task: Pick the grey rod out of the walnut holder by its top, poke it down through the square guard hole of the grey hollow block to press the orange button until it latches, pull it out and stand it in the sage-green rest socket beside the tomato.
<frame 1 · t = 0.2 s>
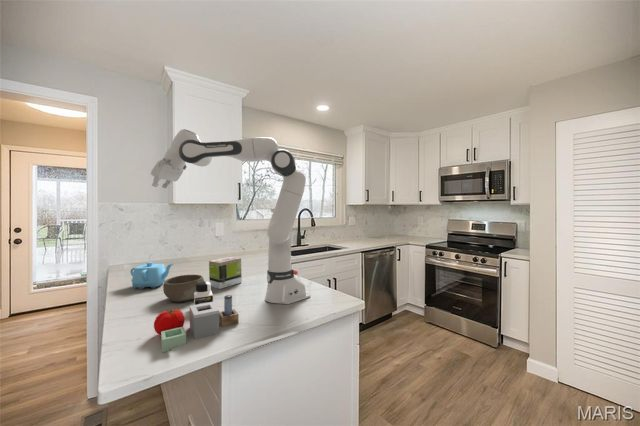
hand: (159, 187, 126), 54 cm above the counter, tool tilted 30°, fingers open, 8 cm apart
rest socket: (173, 345, 88), on the counter
tea box: (225, 285, 155), on the counter
grey hollow block: (204, 332, 96), on the counter
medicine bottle: (203, 310, 118), on the counter
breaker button: (204, 317, 96), point 6 cm above the counter, slide at 0.0 cm
grey rod: (228, 322, 103), point 1 cm above the counter, touching stylus holder
bowl: (184, 299, 131), on the counter
teapot: (153, 286, 151), on the counter
tomato: (170, 334, 96), on the counter
stylus holder: (228, 324, 103), on the counter
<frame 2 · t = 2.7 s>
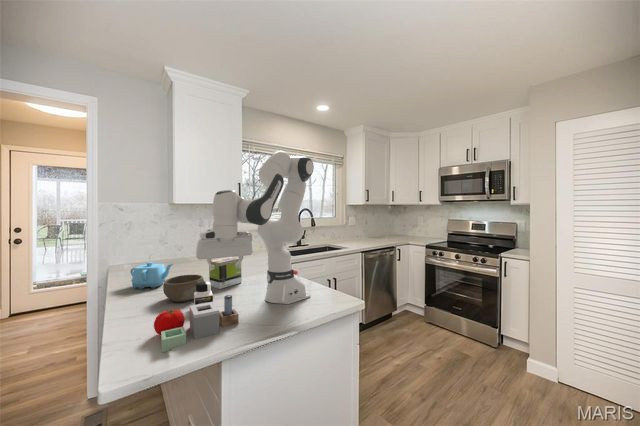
hand: (225, 268, 102), 22 cm above the counter, tool pointing down, fingers open, 8 cm apart
nothing on the counter moved.
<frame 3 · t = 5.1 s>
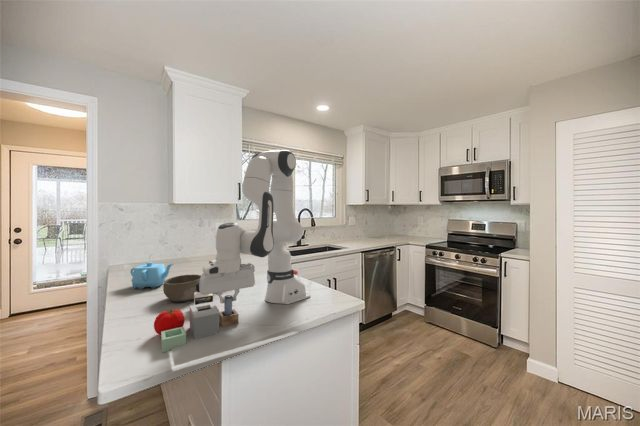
hand: (228, 301, 103), 9 cm above the counter, tool pointing down, fingers closed on grey rod, 3 cm apart
grey rod: (228, 322, 103), point 1 cm above the counter, touching gripper, stylus holder
everything else where it was.
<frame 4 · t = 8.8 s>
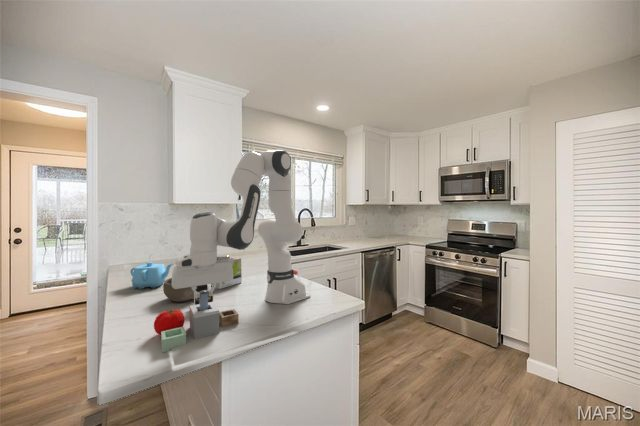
hand: (203, 296, 96), 13 cm above the counter, tool pointing down, fingers closed on grey rod, 3 cm apart
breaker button: (204, 322, 96), point 4 cm above the counter, slide at 1.9 cm, touching grey rod
grey rod: (203, 319, 96), point 5 cm above the counter, touching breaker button, gripper
everything else where it was.
when the fingers open (9 cm above the counter, at t = 12.8 s): grey rod stays where it is, resting on rest socket.
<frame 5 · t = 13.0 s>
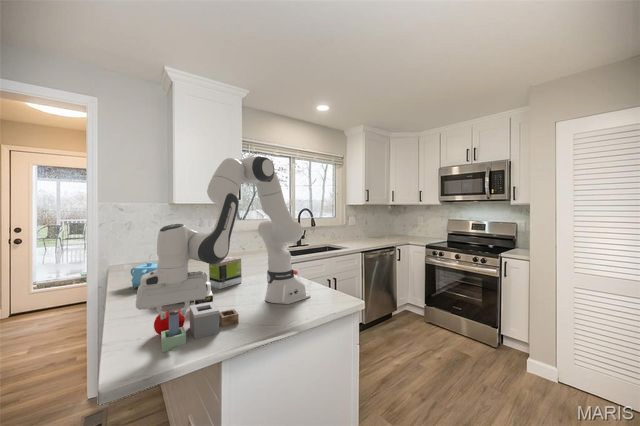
hand: (173, 316, 88), 9 cm above the counter, tool pointing down, fingers open, 4 cm apart
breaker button: (204, 322, 96), point 4 cm above the counter, slide at 1.9 cm
grey rod: (173, 341, 88), point 1 cm above the counter, touching rest socket
everything else where it was.
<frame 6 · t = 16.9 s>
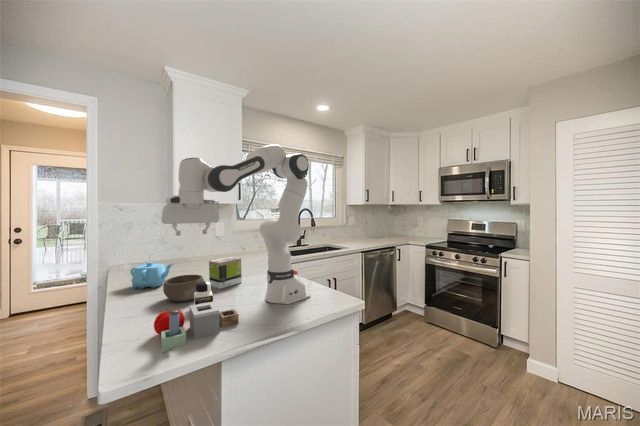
hand: (191, 234, 105), 34 cm above the counter, tool pointing down, fingers open, 8 cm apart
nothing on the counter moved.
at the end: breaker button slide at 1.9 cm; grey rod 0.1 cm off-centre on the rest socket, point 1.0 cm above the rest socket's base; the gripper is holding nothing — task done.
